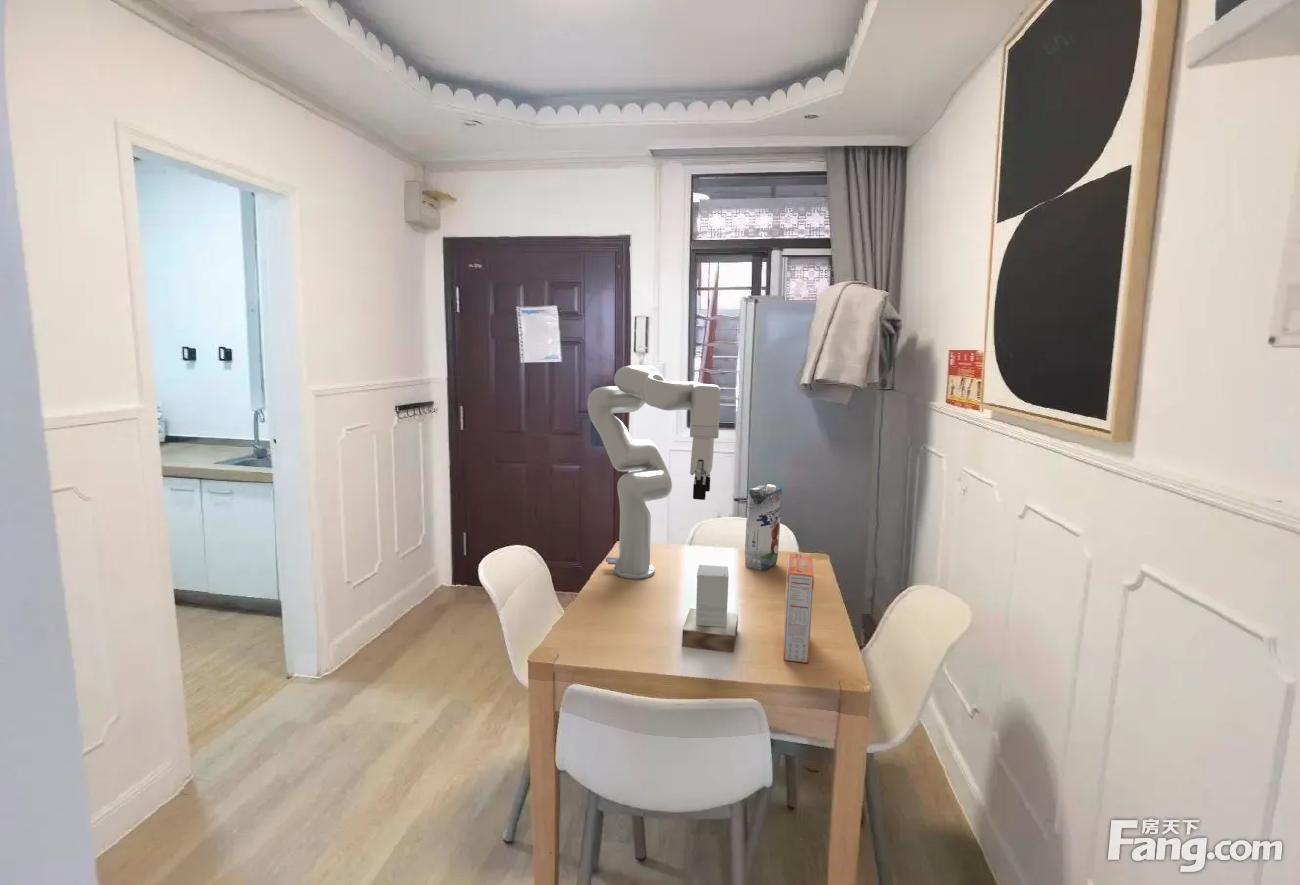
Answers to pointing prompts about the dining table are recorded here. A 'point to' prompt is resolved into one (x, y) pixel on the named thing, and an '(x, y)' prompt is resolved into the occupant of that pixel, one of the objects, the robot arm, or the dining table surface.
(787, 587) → the cracker box
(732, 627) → the base block
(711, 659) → the dining table surface
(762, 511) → the juice carton
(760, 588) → the dining table surface
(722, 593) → the supplement box
